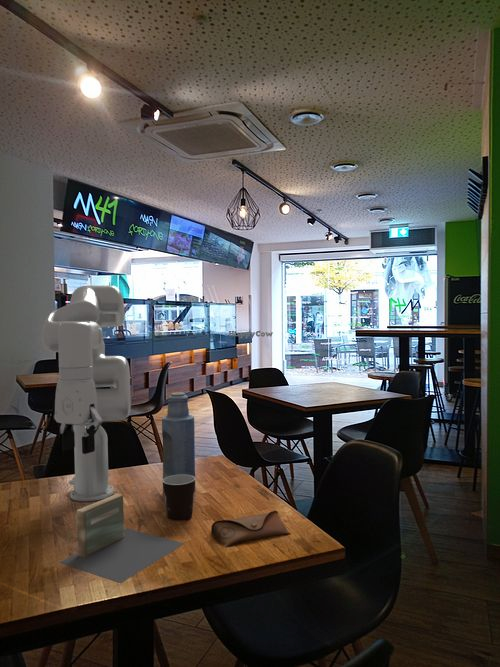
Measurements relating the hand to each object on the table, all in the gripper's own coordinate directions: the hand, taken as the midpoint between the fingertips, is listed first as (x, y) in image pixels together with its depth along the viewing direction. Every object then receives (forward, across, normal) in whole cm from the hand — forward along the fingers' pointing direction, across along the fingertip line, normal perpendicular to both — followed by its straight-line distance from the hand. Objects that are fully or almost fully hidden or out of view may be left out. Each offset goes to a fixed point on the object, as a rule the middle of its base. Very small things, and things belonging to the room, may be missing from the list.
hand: (78, 450), depth 118 cm
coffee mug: (+22, +11, +24) cm, 34 cm away
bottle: (+22, -1, +38) cm, 44 cm away
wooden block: (+21, +7, 0) cm, 22 cm away
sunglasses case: (+22, +34, +22) cm, 46 cm away
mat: (+22, +14, 0) cm, 26 cm away
